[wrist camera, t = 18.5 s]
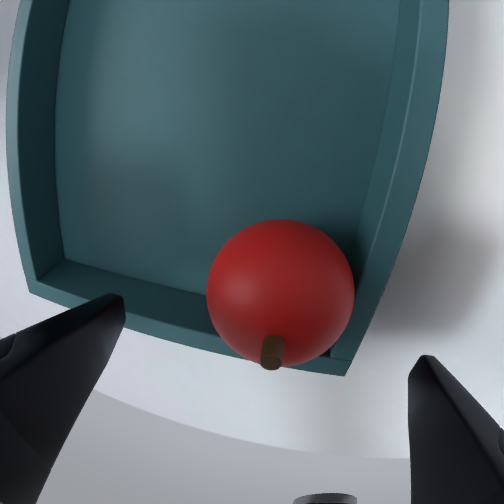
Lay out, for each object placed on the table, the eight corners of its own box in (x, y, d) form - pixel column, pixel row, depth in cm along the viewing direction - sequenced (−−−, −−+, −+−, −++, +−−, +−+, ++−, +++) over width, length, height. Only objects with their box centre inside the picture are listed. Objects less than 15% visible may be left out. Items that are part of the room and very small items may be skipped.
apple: (328, 317, 14) (332, 424, 9) (219, 295, 14) (178, 395, 9) (360, 214, 11) (399, 303, 6) (232, 189, 12) (176, 260, 7)
